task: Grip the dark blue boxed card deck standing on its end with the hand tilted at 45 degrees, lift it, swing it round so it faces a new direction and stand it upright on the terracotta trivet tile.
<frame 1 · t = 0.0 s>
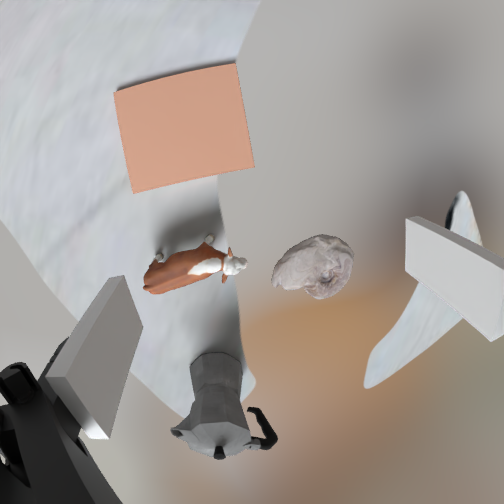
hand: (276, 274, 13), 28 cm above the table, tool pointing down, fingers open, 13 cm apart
trivet: (182, 126, 36), on the table
fossil: (310, 262, 45), on the table
bull figurine: (194, 252, 42), on the table
coffeepot: (222, 372, 50), on the table
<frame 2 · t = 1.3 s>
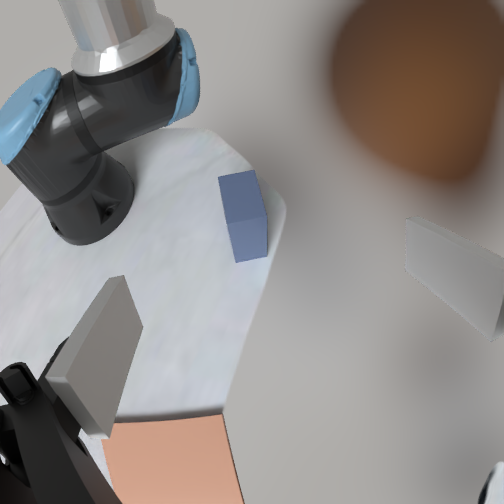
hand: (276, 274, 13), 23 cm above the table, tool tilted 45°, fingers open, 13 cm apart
trivet: (169, 473, 28), on the table
deck: (246, 238, 40), on the table
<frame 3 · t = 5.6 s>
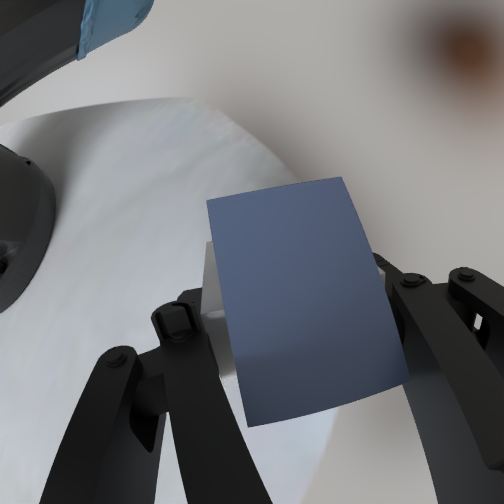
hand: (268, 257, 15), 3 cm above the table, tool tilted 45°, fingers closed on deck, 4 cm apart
deck: (283, 341, 16), on the table, touching gripper
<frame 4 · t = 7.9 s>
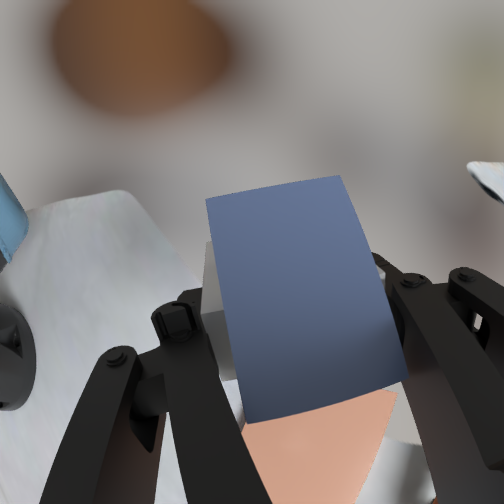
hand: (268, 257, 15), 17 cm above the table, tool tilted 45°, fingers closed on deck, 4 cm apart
trivet: (308, 449, 25), on the table
deck: (282, 340, 16), point 14 cm above the table, touching gripper
when the fingers open (6 cm above the table, at t = 10.7 s): deck drops 1 cm, resting on trivet.
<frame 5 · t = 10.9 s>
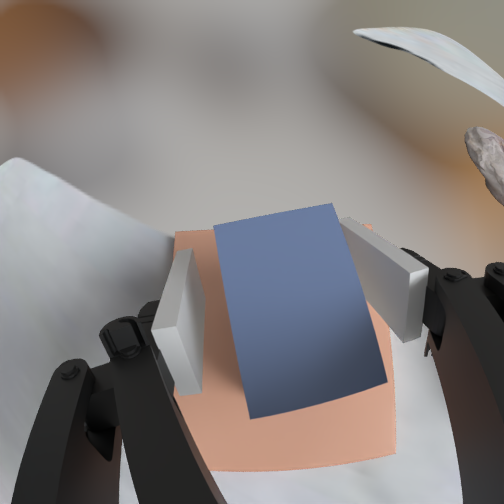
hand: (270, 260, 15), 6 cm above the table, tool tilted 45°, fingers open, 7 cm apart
trivet: (280, 346, 19), on the table
fossil: (494, 181, 24), on the table
deck: (281, 344, 18), point 1 cm above the table, touching trivet
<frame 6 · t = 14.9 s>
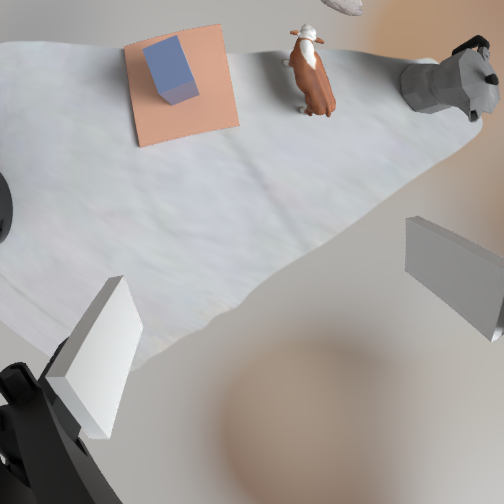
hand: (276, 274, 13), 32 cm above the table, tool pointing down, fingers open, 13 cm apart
trivet: (179, 83, 37), on the table
bull figurine: (300, 78, 39), on the table
deck: (178, 81, 36), point 1 cm above the table, touching trivet
coffeepot: (420, 84, 40), on the table
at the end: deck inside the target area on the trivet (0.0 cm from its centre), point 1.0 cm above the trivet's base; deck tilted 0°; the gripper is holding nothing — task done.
